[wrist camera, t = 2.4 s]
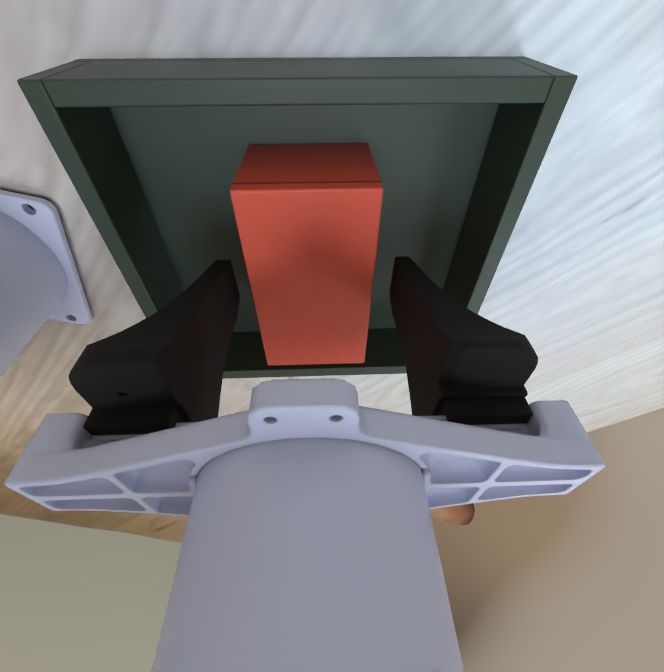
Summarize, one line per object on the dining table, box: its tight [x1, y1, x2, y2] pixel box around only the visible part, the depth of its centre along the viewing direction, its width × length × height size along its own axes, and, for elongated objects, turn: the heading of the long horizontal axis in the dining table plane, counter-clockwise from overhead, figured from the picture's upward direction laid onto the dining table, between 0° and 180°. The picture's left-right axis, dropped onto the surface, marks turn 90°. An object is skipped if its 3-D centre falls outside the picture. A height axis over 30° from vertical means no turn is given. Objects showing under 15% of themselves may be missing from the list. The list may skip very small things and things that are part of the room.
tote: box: [17, 57, 577, 378], centre depth 16 cm, size 16×14×4 cm
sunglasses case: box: [429, 503, 474, 525], centre depth 41 cm, size 18×7×7 cm
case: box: [230, 143, 383, 365], centre depth 16 cm, size 5×9×4 cm, turn 0°
